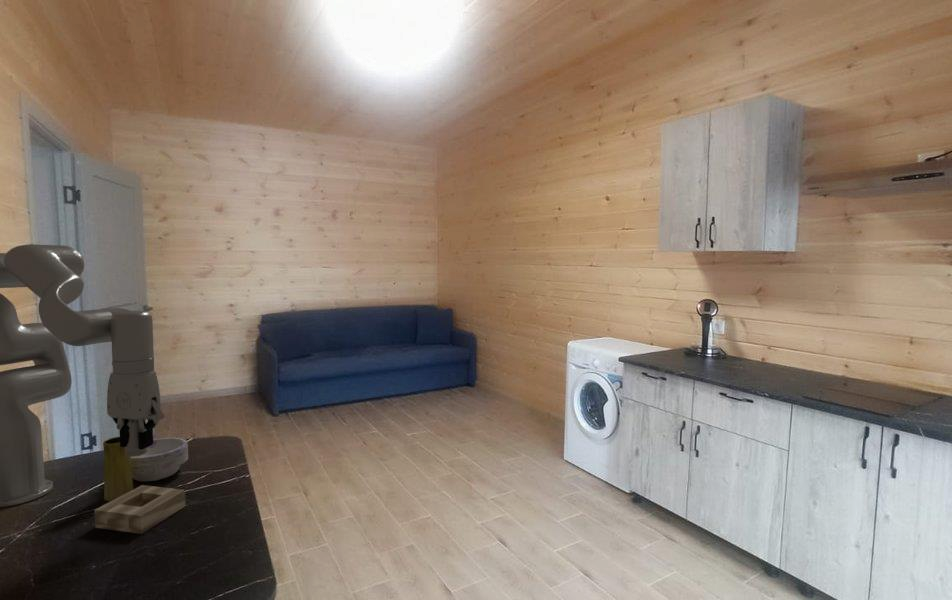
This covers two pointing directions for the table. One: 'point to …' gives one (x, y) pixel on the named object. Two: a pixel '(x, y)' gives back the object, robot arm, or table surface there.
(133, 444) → the rook chess piece
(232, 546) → the table surface
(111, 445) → the vase
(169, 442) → the paper bowls
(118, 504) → the socket block
